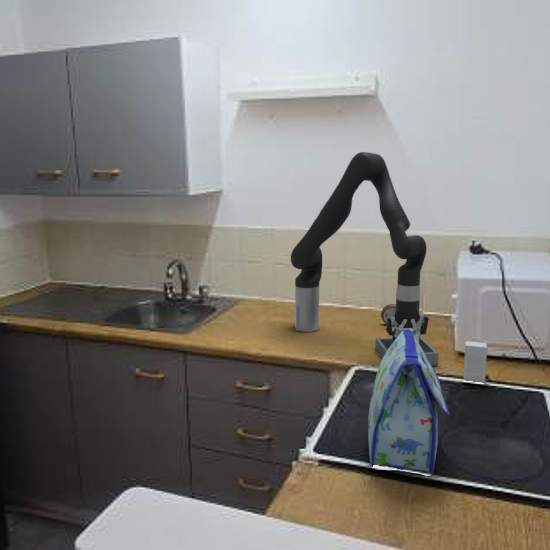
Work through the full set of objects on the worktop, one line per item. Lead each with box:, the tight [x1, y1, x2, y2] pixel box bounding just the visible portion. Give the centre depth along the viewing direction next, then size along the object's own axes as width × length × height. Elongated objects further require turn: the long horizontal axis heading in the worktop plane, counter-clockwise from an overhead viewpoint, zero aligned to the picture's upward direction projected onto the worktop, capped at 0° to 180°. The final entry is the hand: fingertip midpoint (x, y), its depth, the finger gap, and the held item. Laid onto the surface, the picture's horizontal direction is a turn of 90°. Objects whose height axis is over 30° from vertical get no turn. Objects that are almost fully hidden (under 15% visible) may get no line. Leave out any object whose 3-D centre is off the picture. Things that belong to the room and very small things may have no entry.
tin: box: [380, 303, 397, 327], centre depth 217 cm, size 15×3×8 cm, turn 84°
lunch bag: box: [367, 329, 451, 475], centre depth 125 cm, size 22×17×26 cm
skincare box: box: [463, 340, 488, 384], centre depth 163 cm, size 6×4×12 cm
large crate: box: [375, 336, 439, 368], centre depth 183 cm, size 16×16×4 cm
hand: (405, 346), depth 183 cm, fingers closed on small crate, 6 cm apart
